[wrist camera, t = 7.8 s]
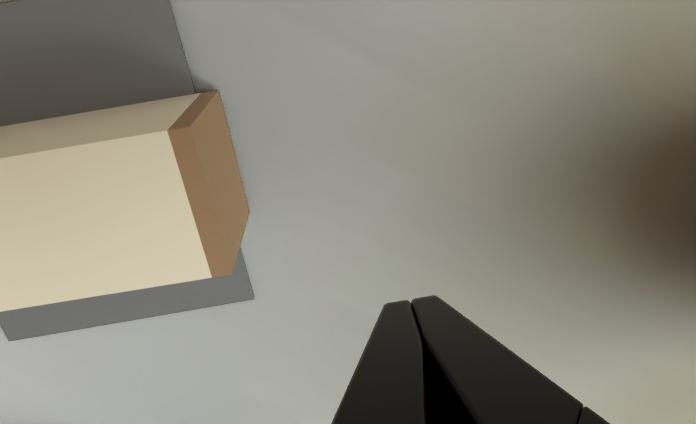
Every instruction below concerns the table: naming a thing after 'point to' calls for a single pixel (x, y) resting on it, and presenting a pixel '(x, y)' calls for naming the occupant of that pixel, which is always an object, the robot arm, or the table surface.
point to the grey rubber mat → (90, 95)
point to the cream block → (118, 201)
